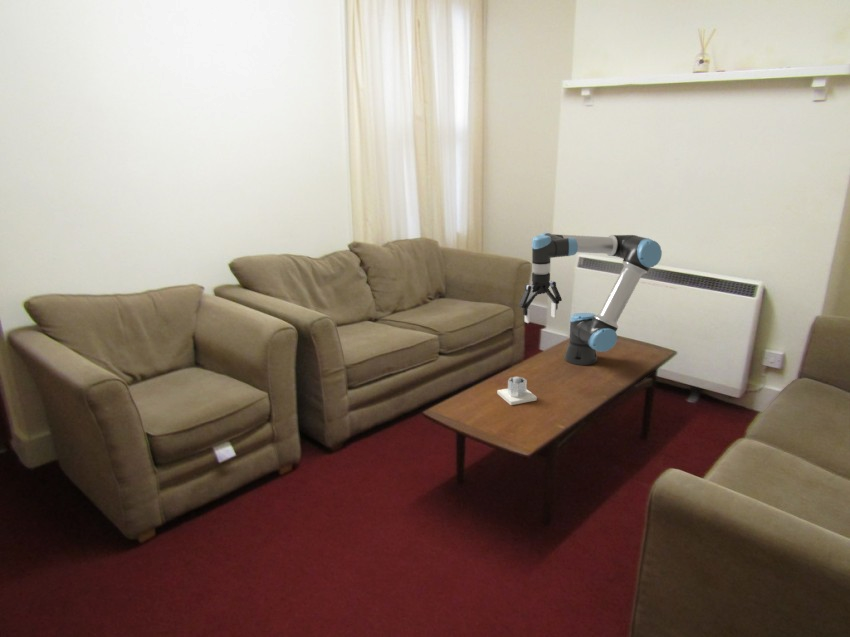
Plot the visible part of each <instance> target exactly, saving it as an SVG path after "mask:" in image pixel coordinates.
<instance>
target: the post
mask: <svg viewBox="0 0 850 637" xmlns="http://www.w3.org/2000/svg"><path fill="white" fill-rule="evenodd" d="M513 377H514V378H513V382H514V383H521V376H513ZM496 392H497V395H498V396H500V398H502V399H503V400H504V401H505V402H507V404H509V405H510V406H513V405H519V404H520V405H521V404H524V403H530V402H534V401H538V399H537V398H538V396H536V395H535V394H534V393H533V392H531V391H530V390H528V389H527V390H526V395H525V396H524V397H519V398H517V397H511V396H510V395H509V394H508V387H507V388H502V389H497V391H496Z"/></svg>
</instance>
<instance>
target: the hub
mask: <svg viewBox="0 0 850 637" xmlns="http://www.w3.org/2000/svg"><path fill="white" fill-rule="evenodd" d="M514 377H515V376H513V377H512V376H511V377H509V378H508V380H507V388H508V394H509V395H510V396H511V397H517V398H519V397H524V396H525V395H526V390H528V389H527V385H528V383H527V382H528V380H527V379H526V378H525V377H521V376H520V377H521V383H514V382H513V378H514Z"/></svg>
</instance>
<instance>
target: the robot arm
mask: <svg viewBox="0 0 850 637" xmlns="http://www.w3.org/2000/svg"><path fill="white" fill-rule="evenodd" d="M531 251H532V255H531V256H532V257H531V259H532V260H531V262H532V263H531V264H532V265H531V266H532V267H531V272H532V273H531V281H532V284H530V285H529V284H526V285H525V287H524V288H525V289H524V292H523V295H522V297H521V299H520V302H519V304H518V306H519V307H520V308H522V315H523V316H524V323H527V324H529V323H530V308H529V307H530V305H531V304H532V302H533V301H534V299H535V298H536V297H537V296H538V295H542V294H543V295H544V294H546V295H547V296H548V297H549V299H550V300H551V303H550V317H552V318H554V319H556V318H557V310H558V306H559V304H560V302H562V301H563V298H562V297H561V294H560V292H559V289H558V287H557V282H556V281H554V280H551V273H550V272H551V259H552V258H560V257H561V258H562V257H564V258H565V257H570V256H575V255H576V254H578V253H586V254H587V253H589V254H603V255H604V254H605V255H607V256H609V257H617V258H621V259H622V265H623V267H622V269H621V271H620V273H619V274H618V277H617V279H616V281H615V283H614V285H613V286H612V289H611V290H610V292H609V294H608V296H607V297H606V300H605V302H604V303H603V305H602V308H601V309H600V312H599V313H598V314H595V313H591V312H578V313H574V314H572V315H571V317H570V322H569V324H570V325H569V327H570V328H569V338H568V339H569V342H568V345H567V348H566V351H565V352H564V360H565V361H566V362H568V363H570V364H573V365H578V366H588V365H594V364H595V363H596V362H597V360H598V355H597V352H600V353H605V352H607V351H610V350H612V348H614V347H615V345H616V344H617V342H618V337H617V331H618V328H619V326H618V321H619V320H620V317H621V315H622V314H623V313H624V312H623V311H624V310H625V308H626V306H627V304H628V302H629V300H630V299H631V296H632V295H633V293H634V291H635V289H636V287H637V285H638V284H639V281H640V280H641V277H642V276H643V275H645V274H647V273H648V272H649V269H650V268H654V267H655V266H657V265H658V264H659V263H660V261H661V259H662V256H663V255H662V254H663V251H662V249H661V245H660V243H659V242H657V241H655V240H653V239H652V238H647V237H643V236H638V235H635V234H610V235H608V236H592V235H576V234H575V235H574V234H572V235H571V234H555V233H553V234H552V233H549V232H544V233H541V234H540V235H535V236H533V238H532V244H531ZM550 289H551V290H550ZM551 291H552V292H553V293H552V292H551Z"/></svg>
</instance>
